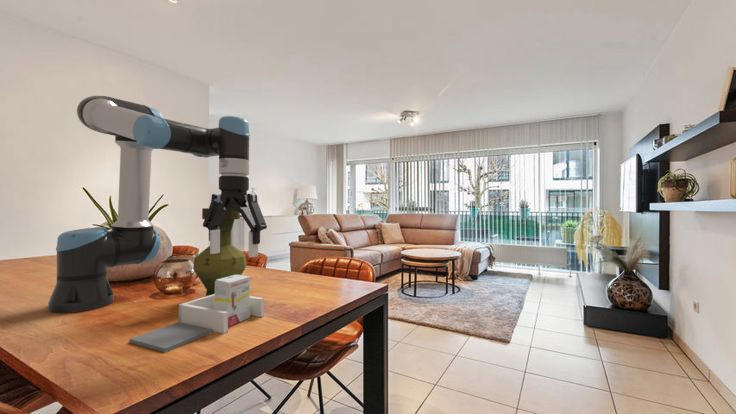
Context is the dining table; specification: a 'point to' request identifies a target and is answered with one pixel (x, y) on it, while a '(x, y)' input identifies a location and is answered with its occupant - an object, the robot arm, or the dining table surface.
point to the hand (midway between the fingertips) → (233, 255)
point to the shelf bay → (213, 313)
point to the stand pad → (170, 336)
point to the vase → (220, 256)
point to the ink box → (233, 297)
